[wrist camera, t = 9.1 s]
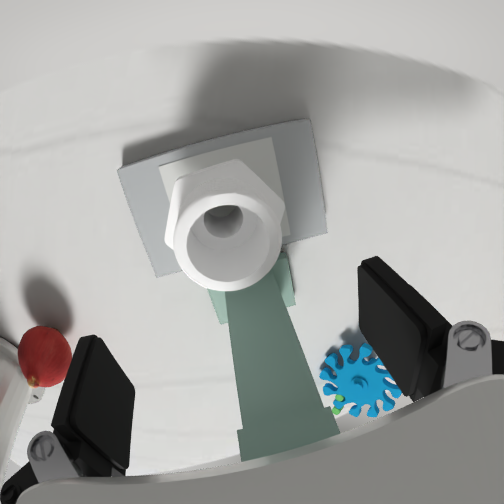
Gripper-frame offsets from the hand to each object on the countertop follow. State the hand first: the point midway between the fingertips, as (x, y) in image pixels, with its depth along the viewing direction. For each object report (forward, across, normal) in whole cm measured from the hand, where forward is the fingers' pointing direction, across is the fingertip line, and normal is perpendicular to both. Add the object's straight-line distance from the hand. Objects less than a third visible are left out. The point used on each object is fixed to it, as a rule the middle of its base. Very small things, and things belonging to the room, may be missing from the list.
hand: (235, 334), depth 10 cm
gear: (+15, -10, +23) cm, 29 cm away
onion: (+16, +20, +8) cm, 27 cm away
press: (+15, -1, +2) cm, 15 cm away
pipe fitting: (+13, -1, -1) cm, 13 cm away
